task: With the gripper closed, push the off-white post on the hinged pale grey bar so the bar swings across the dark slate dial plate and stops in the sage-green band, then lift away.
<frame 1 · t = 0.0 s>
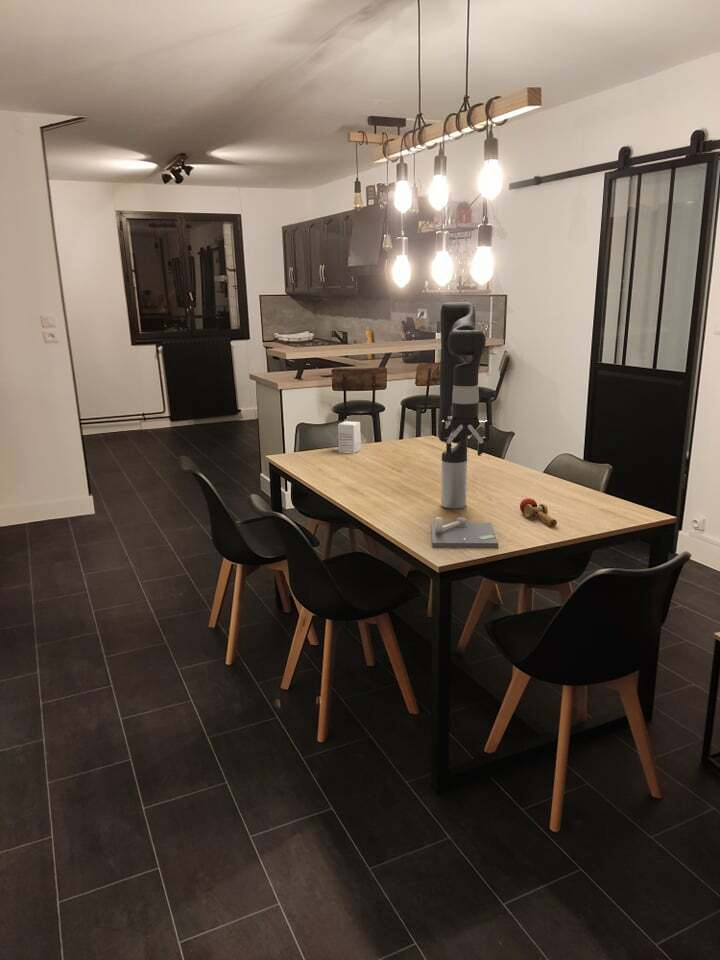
hand: (464, 455, 199), 29 cm above the table, tool pointing down, fingers open, 8 cm apart
pale grey bar: (461, 525, 223), point 2 cm above the table, hinge at -45.0°
dial plate: (462, 536, 217), on the table
kendama: (538, 520, 232), on the table
supplement box: (349, 452, 342), on the table
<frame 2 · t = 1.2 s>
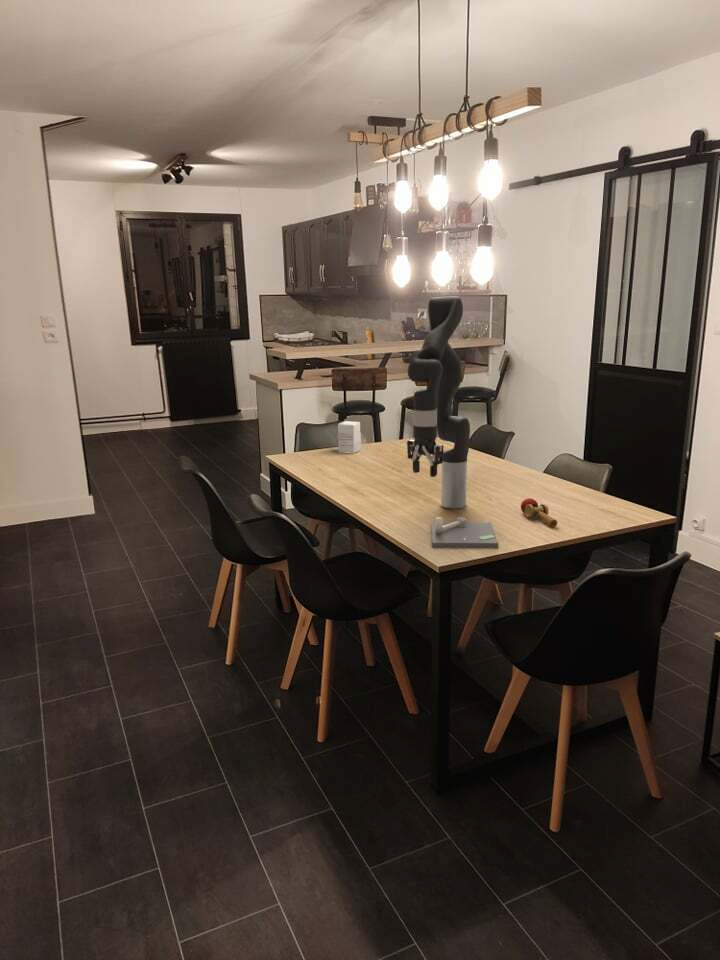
hand: (424, 474, 216), 20 cm above the table, tool pointing down, fingers open, 7 cm apart
nothing on the table moved.
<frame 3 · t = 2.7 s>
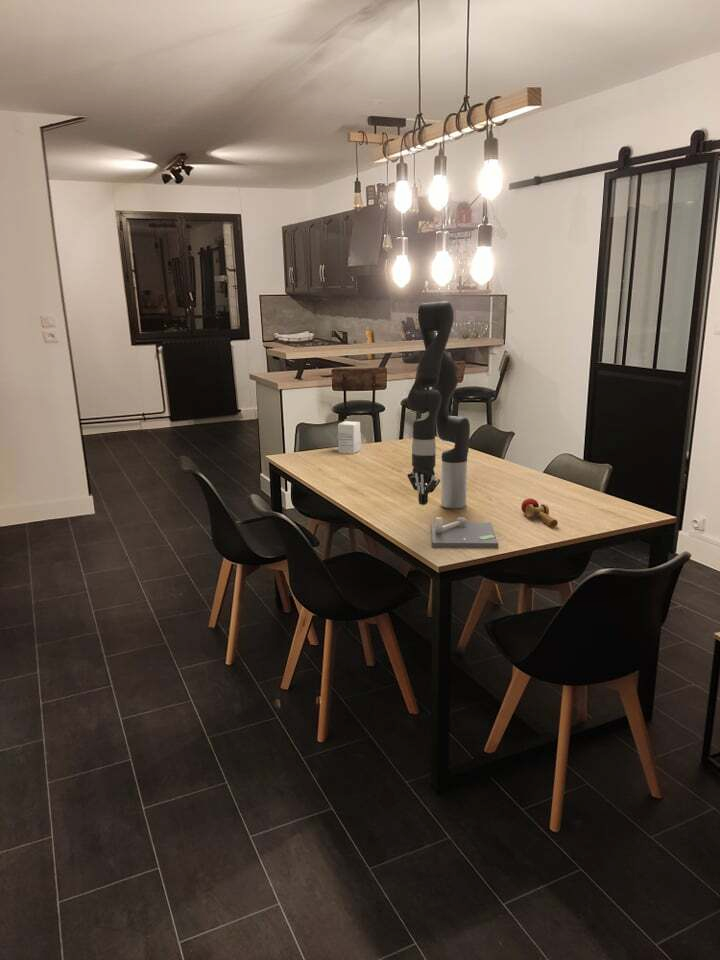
hand: (423, 504, 219), 10 cm above the table, tool pointing down, fingers closed
nothing on the table moved.
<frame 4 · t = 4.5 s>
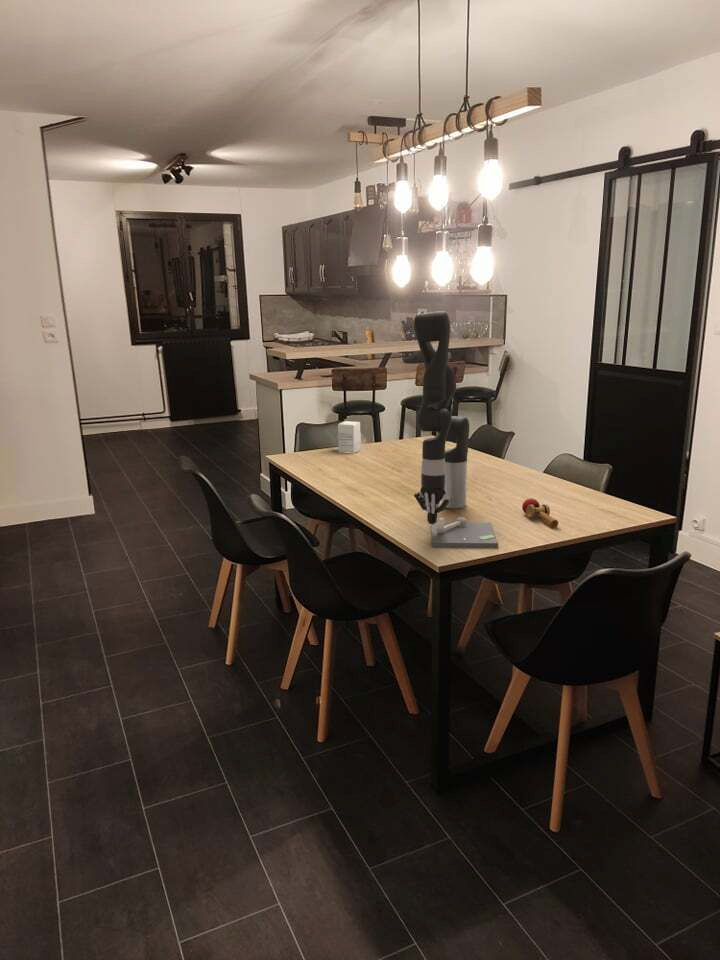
hand: (432, 523, 217), 4 cm above the table, tool pointing down, fingers closed
pale grey bar: (461, 525, 223), point 2 cm above the table, hinge at -41.7°, touching gripper
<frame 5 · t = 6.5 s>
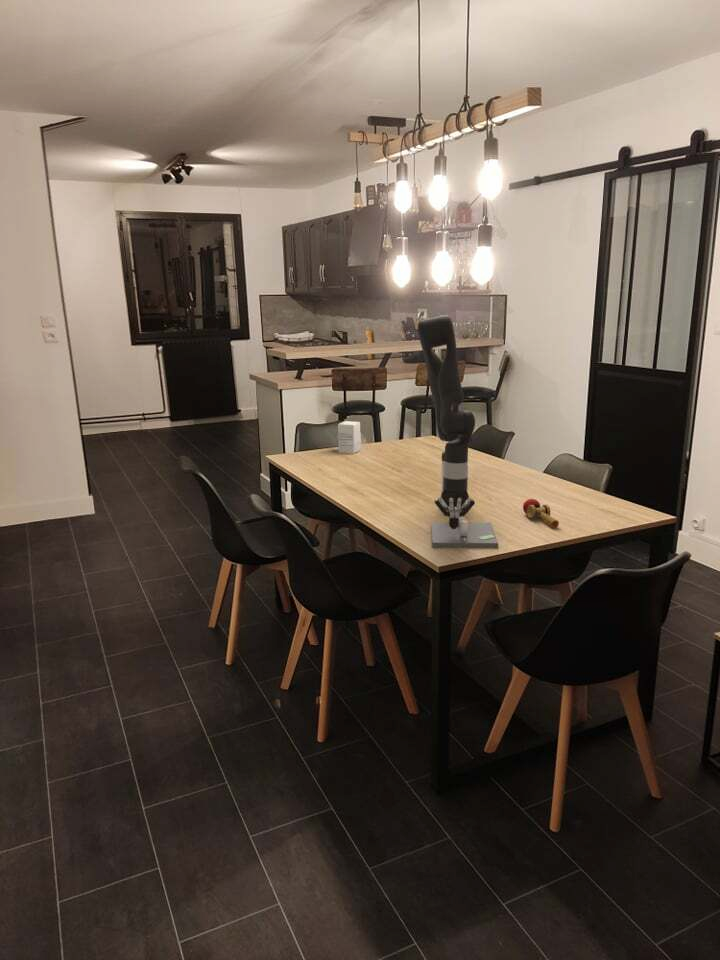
hand: (453, 528, 212), 4 cm above the table, tool pointing down, fingers closed
pale grey bar: (461, 525, 223), point 2 cm above the table, hinge at -0.4°, touching gripper
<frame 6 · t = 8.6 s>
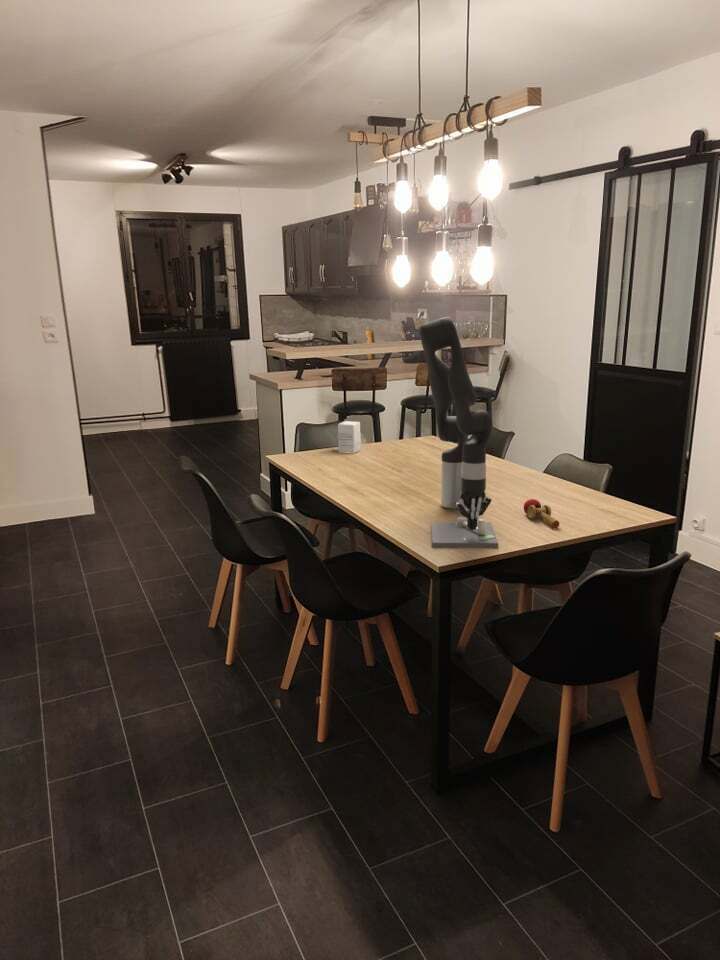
hand: (472, 529, 211), 4 cm above the table, tool pointing down, fingers closed
pale grey bar: (461, 525, 223), point 2 cm above the table, hinge at 30.8°
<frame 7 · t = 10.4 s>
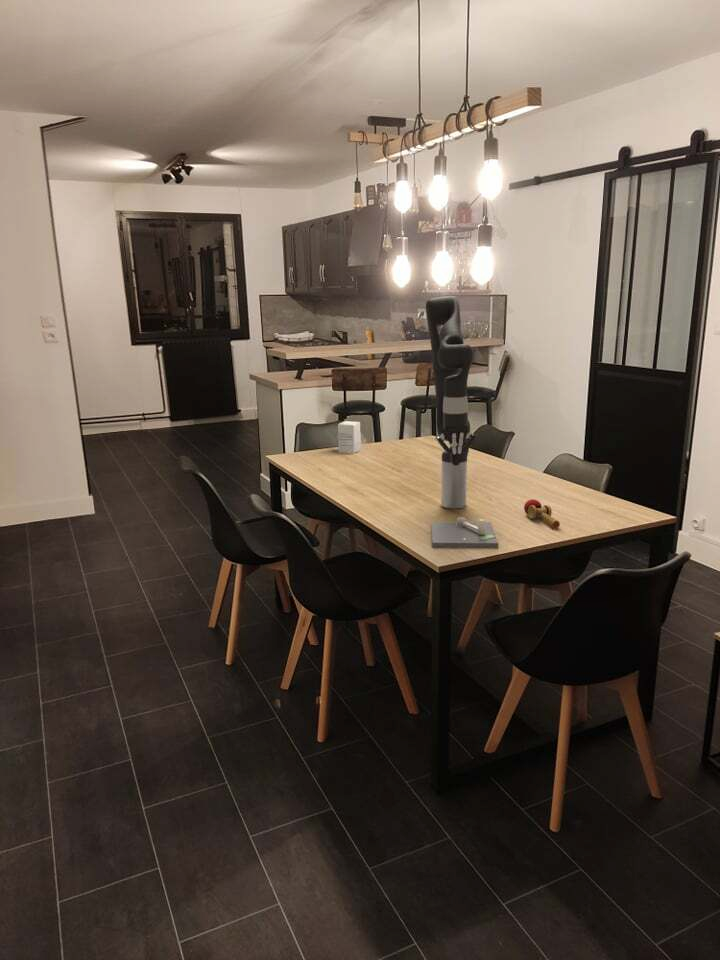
hand: (455, 464, 212), 24 cm above the table, tool pointing down, fingers closed
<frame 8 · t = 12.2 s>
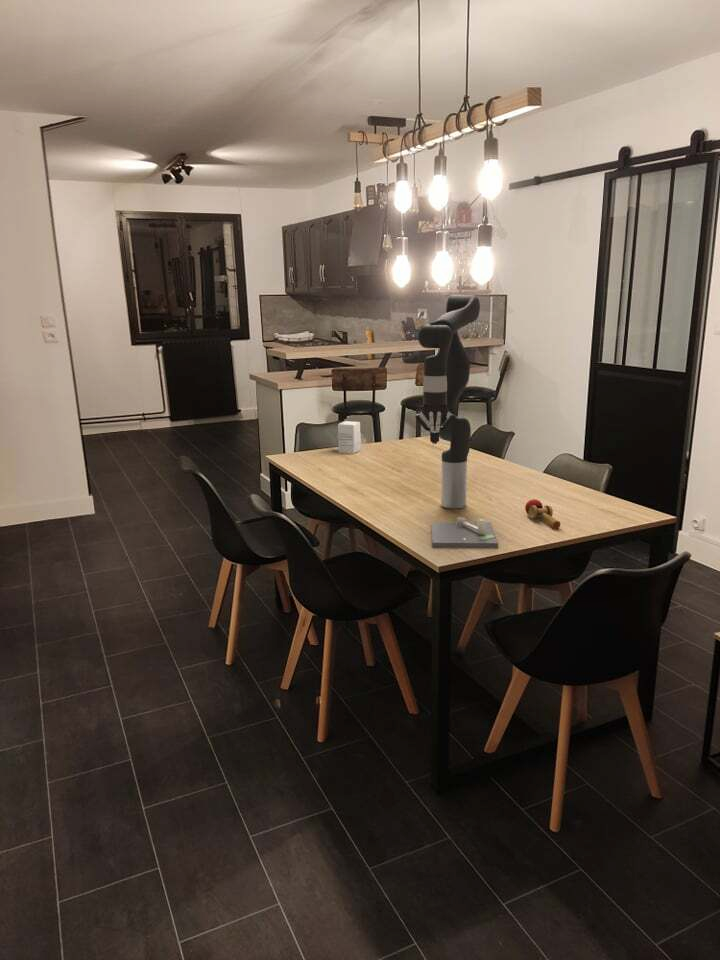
hand: (434, 443, 218), 29 cm above the table, tool pointing down, fingers closed
at the end: pale grey bar at +31° (first picture: -45°); kendama moved 2.3 cm from its start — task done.
